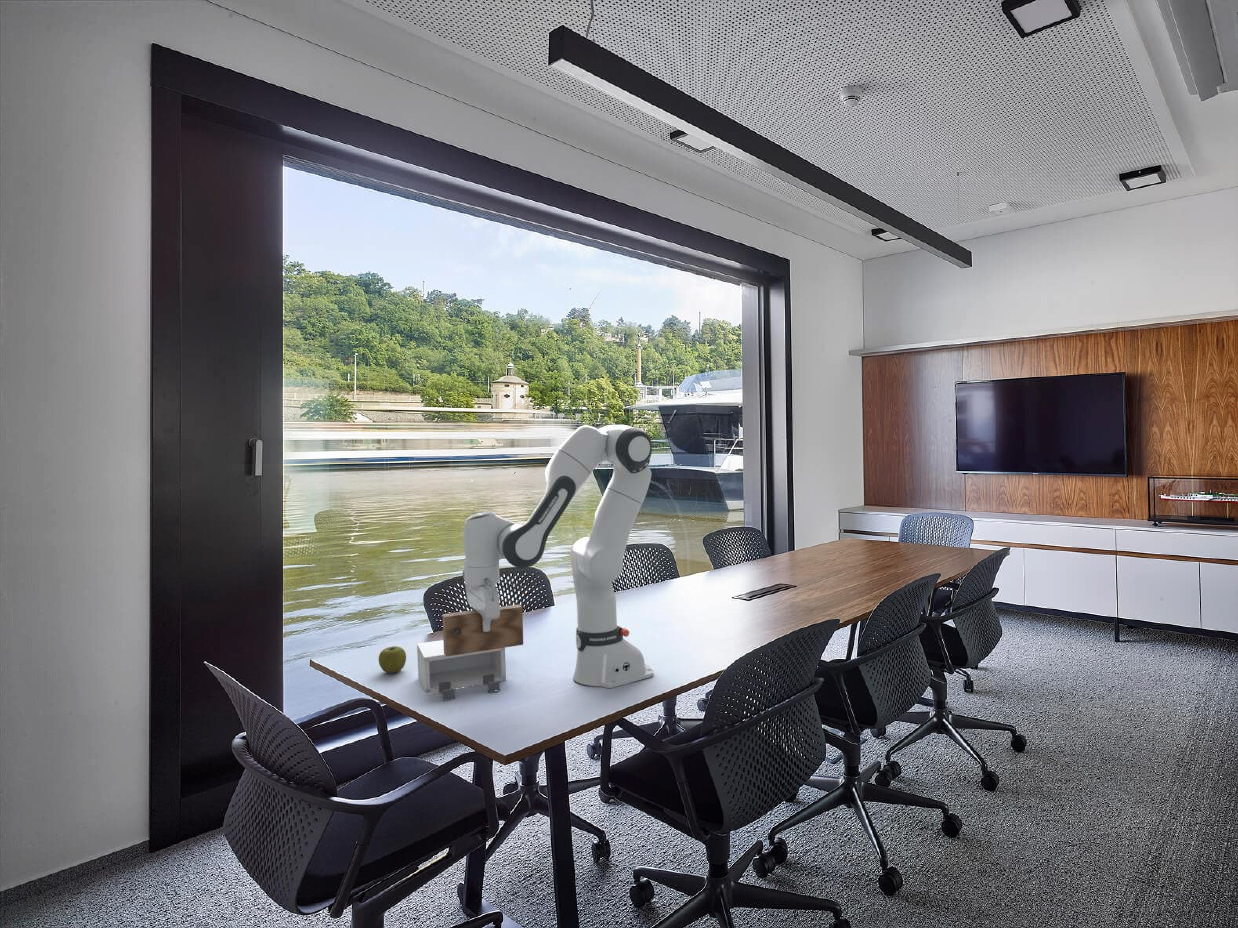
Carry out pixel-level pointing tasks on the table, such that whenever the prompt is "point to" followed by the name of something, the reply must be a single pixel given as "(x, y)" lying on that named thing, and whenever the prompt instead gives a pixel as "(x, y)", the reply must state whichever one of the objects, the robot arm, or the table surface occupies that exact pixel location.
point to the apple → (392, 659)
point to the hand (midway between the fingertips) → (483, 628)
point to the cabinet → (458, 669)
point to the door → (469, 637)
